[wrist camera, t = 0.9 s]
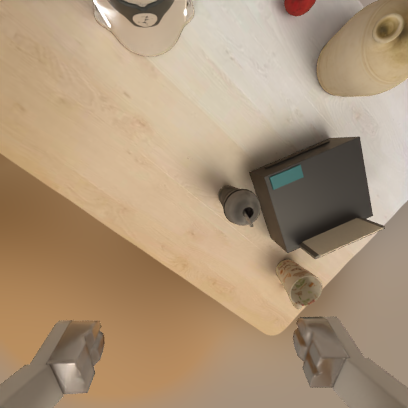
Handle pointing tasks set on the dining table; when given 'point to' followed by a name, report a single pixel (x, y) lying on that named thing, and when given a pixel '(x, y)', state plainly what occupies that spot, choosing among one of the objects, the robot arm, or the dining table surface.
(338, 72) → the jug
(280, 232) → the printer
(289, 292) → the mug
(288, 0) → the red pomegranate
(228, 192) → the beverage cup
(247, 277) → the dining table surface
